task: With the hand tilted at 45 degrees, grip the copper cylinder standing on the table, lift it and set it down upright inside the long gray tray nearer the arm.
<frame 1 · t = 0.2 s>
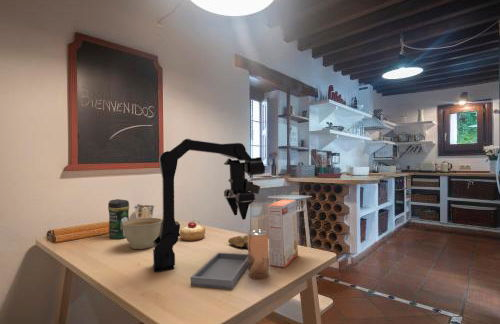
hand: (239, 217, 106), 14 cm above the table, tool pointing down, fingers open, 9 cm apart
decorative rock: (246, 246, 119), on the table
gray tray: (224, 272, 90), on the table
cracker box: (284, 260, 100), on the table
copper cylinder: (258, 275, 87), on the table
pastry: (193, 238, 132), on the table
planter bowl: (143, 246, 121), on the table
coffee jar: (119, 237, 137), on the table
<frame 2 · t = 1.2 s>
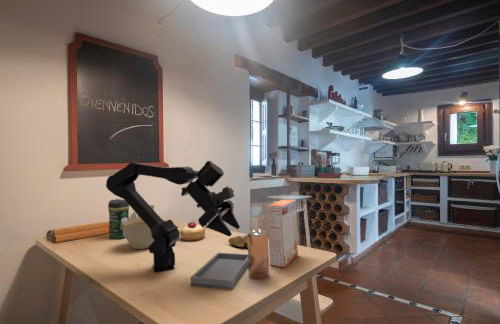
hand: (235, 231, 90), 13 cm above the table, tool tilted 45°, fingers open, 9 cm apart
nothing on the table moved.
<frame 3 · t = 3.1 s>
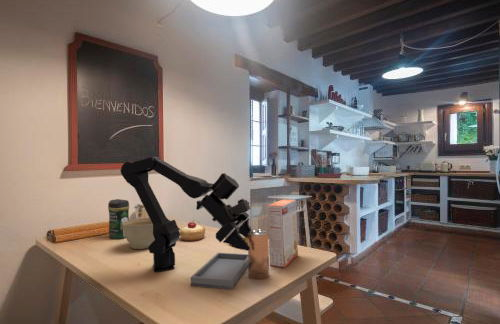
hand: (252, 244, 88), 9 cm above the table, tool tilted 45°, fingers open, 9 cm apart
nothing on the table moved.
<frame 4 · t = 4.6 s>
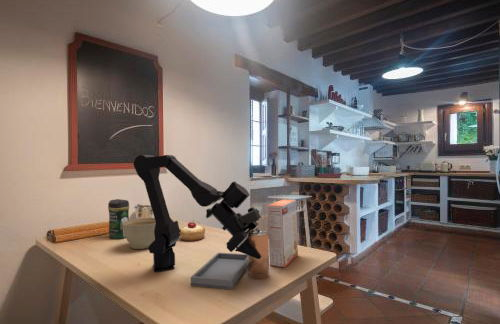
hand: (262, 254, 87), 7 cm above the table, tool tilted 45°, fingers closed on copper cylinder, 6 cm apart
copper cylinder: (258, 275, 87), on the table, touching gripper
everything else where it was.
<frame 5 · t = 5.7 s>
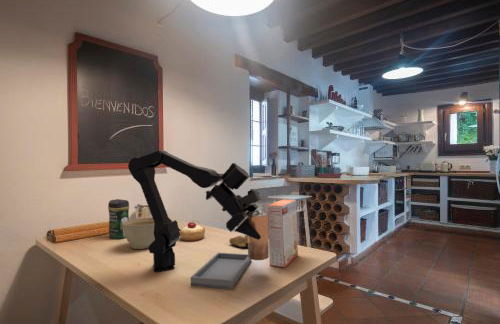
hand: (262, 235, 87), 12 cm above the table, tool tilted 45°, fingers closed on copper cylinder, 6 cm apart
copper cylinder: (258, 256, 87), point 6 cm above the table, touching gripper
everything else where it was.
when the fingers open (9 cm above the table, at t = 8.4 s): copper cylinder drops 1 cm, resting on gray tray.
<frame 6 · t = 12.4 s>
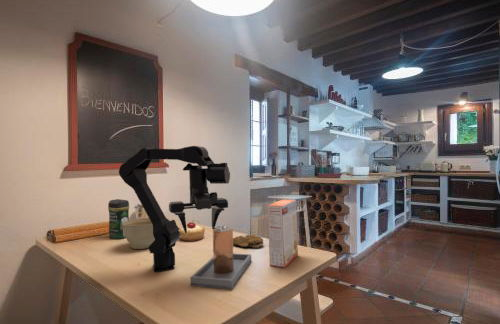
hand: (199, 230, 93), 13 cm above the table, tool pointing down, fingers open, 9 cm apart
copper cylinder: (223, 269, 90), point 1 cm above the table, touching gray tray
at the end: copper cylinder inside the target area on the gray tray (0.1 cm from its centre), point 0.8 cm above the gray tray's base; copper cylinder tilted 0°; the gripper is holding nothing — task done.
